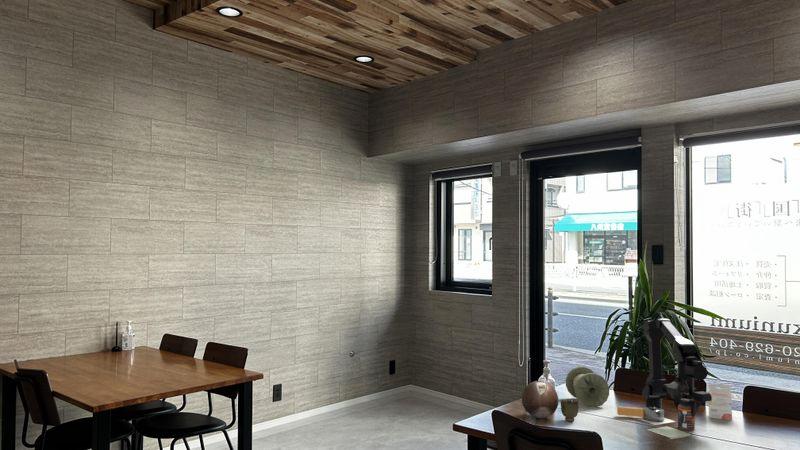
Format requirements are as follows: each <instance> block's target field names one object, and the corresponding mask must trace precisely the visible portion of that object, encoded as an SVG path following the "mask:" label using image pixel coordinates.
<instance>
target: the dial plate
mask: <svg viewBox="0 0 800 450" xmlns="http://www.w3.org/2000/svg"><path fill="white" fill-rule="evenodd" d="M631 418H633V419H635V420H639V421H642V422H644V423H647V424H651V425H654V426H658V425H663V424H670V423H675V422H677V421H675V420H673V419H669V418H667V417H664V421H663V422H651V421H647V420H644V419H643V417H639V416H631Z"/></svg>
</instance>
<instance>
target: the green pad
mask: <svg viewBox="0 0 800 450" xmlns="http://www.w3.org/2000/svg"><path fill="white" fill-rule="evenodd" d="M646 430H647V431H648V432H652V433H655V434H658V435H661V436H664V437H666V438H667V439H668V440H676V439H681V438H686V437H687V436H688V437H692V433H688V432H686V431H684V430H683V431H682V430H679V429H677V428H673V427H671V426H666V425H665V426H661V427H654V428H648V429H646ZM688 437H687V438H688Z"/></svg>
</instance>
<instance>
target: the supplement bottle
mask: <svg viewBox="0 0 800 450" xmlns="http://www.w3.org/2000/svg"><path fill="white" fill-rule="evenodd" d="M689 400H690V399H689V398H683V399H681V403H680V404H679V405H678V411H677V428H679V429H681V430H683V431H695V427H696V426H695V425H696V421H695V420H696V417H695V416H696V415H695V416H694V417H692V414H691V402H690V401H689Z"/></svg>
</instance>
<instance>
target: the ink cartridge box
mask: <svg viewBox="0 0 800 450" xmlns="http://www.w3.org/2000/svg"><path fill="white" fill-rule="evenodd" d="M719 387H721V388H719ZM731 387H732V386H731V385H730V384H723V383H711V382H710V383H708V390H707V391H708V392H707V393H710V394H711V396H712V401H708V417H709V418H710V419H711V418H713V419H719V420H727V421H731V420H732V421H733V408H732V407H733V405H732V391H731V389H732V388H731Z"/></svg>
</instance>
